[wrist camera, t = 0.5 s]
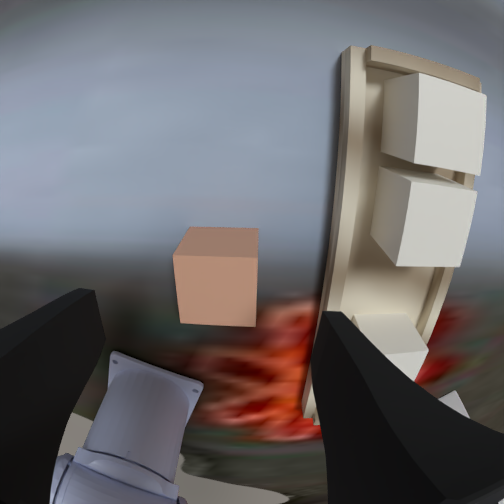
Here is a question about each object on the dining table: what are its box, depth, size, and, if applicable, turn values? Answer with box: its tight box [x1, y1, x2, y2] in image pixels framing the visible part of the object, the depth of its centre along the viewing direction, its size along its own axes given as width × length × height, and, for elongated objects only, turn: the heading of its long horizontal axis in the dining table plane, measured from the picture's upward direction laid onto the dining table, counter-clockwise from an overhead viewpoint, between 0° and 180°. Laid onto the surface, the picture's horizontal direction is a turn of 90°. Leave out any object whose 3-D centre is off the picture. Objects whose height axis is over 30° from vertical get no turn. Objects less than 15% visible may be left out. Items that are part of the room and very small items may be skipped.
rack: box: [302, 45, 481, 425], centre depth 17 cm, size 26×8×3 cm, turn 179°
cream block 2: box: [370, 166, 477, 267], centre depth 14 cm, size 4×4×4 cm
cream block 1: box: [380, 73, 486, 176], centre depth 12 cm, size 4×4×4 cm
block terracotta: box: [173, 227, 258, 327], centre depth 17 cm, size 4×4×4 cm
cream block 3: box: [352, 313, 429, 381], centre depth 18 cm, size 4×4×4 cm
